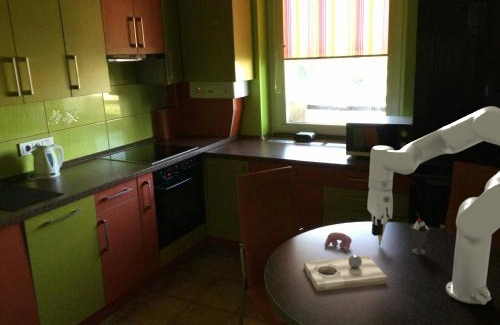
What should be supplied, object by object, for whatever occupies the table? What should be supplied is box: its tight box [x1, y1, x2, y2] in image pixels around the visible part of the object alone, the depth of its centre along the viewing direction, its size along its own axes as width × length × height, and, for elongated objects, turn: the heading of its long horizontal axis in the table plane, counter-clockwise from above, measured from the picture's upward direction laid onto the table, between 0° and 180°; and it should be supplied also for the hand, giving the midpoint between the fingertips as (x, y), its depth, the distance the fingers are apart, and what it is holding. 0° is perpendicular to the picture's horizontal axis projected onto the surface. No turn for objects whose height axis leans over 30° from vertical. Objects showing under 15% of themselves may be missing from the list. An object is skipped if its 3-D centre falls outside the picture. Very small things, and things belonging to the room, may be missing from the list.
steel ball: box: [348, 254, 362, 268], centre depth 152 cm, size 4×4×4 cm
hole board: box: [303, 254, 388, 292], centre depth 153 cm, size 16×24×2 cm, turn 99°
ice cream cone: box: [377, 217, 389, 247], centre depth 172 cm, size 6×6×15 cm
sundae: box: [410, 213, 431, 256], centre depth 166 cm, size 7×7×15 cm
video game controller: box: [324, 232, 352, 253], centre depth 174 cm, size 10×5×7 cm, turn 58°
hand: (376, 234), depth 150 cm, fingers closed
